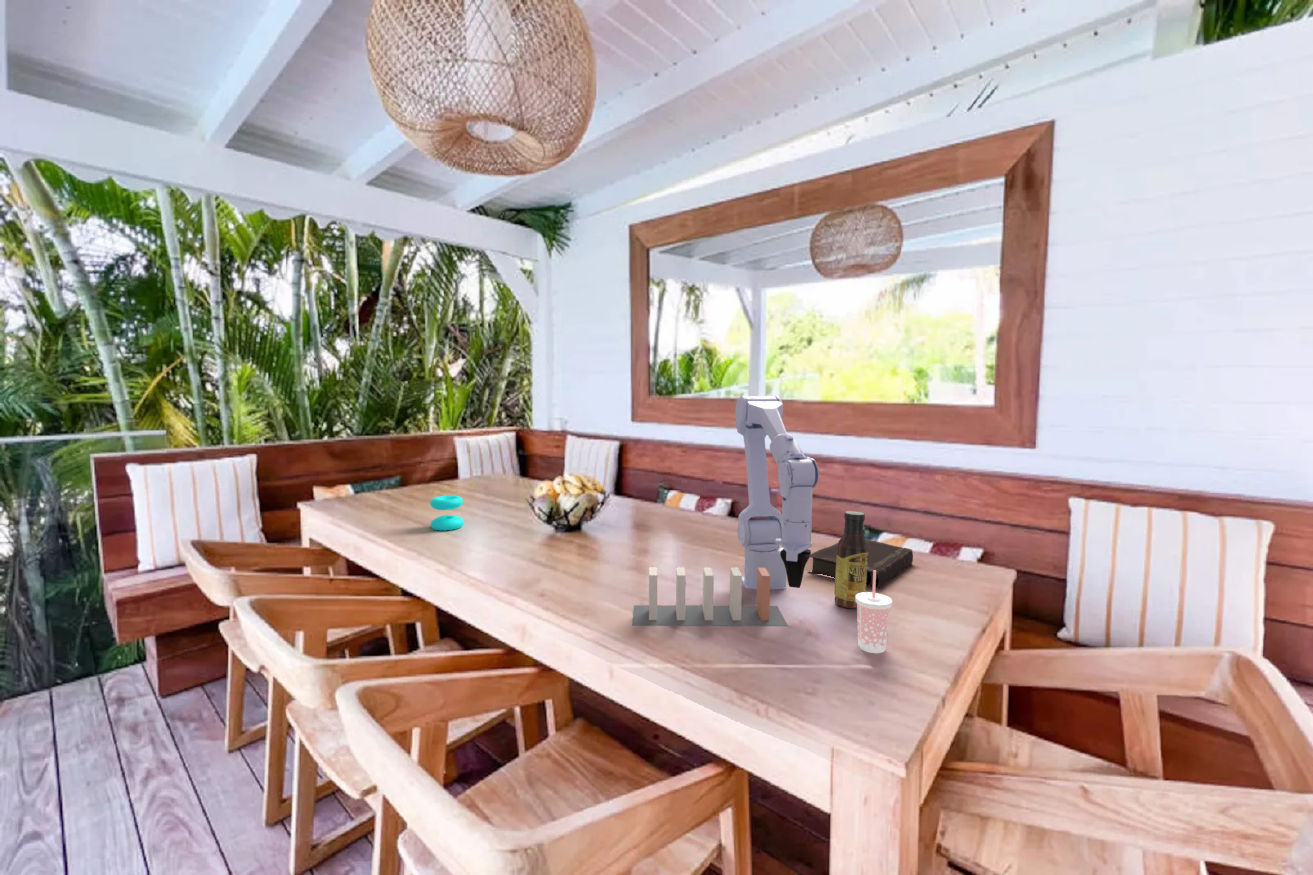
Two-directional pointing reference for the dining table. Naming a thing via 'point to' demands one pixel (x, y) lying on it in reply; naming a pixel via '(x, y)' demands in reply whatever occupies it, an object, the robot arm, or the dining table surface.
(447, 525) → the donuts
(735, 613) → the domino
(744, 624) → the slate mat
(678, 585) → the domino
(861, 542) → the sauce bottle
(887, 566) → the diary
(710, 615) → the domino
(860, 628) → the beverage cup
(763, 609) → the terracotta domino
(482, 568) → the dining table surface
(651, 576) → the domino
